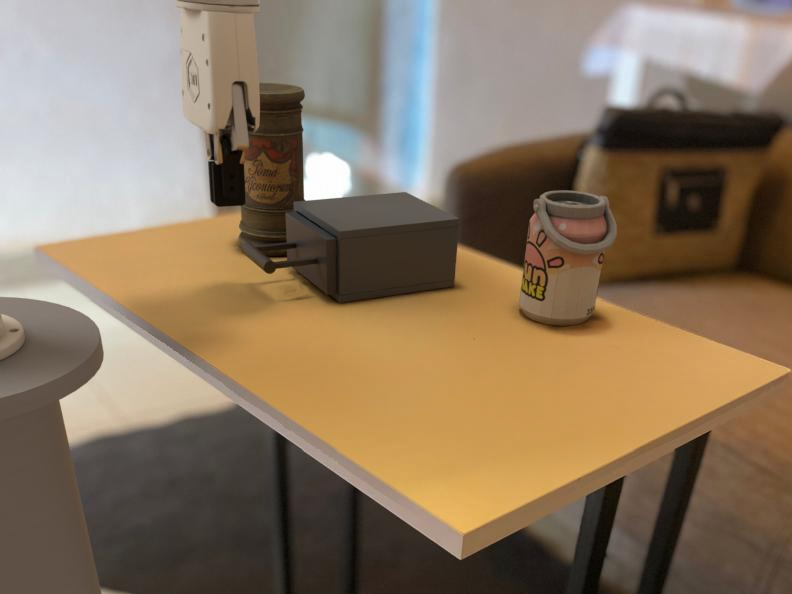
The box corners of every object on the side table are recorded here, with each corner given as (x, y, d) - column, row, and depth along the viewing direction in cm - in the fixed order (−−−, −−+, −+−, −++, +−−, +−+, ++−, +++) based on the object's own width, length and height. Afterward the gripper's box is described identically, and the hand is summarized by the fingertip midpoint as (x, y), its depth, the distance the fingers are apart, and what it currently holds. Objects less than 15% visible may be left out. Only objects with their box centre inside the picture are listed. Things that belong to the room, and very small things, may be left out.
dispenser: (339, 303, 91) (339, 231, 86) (295, 268, 100) (293, 201, 95) (454, 286, 97) (459, 218, 92) (403, 255, 106) (405, 191, 101)
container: (243, 234, 110) (232, 79, 99) (311, 237, 110) (308, 83, 100) (234, 255, 103) (222, 90, 92) (308, 258, 103) (304, 94, 93)
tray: (272, 302, 88) (270, 245, 84) (236, 269, 96) (232, 217, 92) (435, 279, 96) (438, 227, 92) (388, 251, 104) (390, 202, 100)
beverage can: (613, 328, 88) (636, 209, 81) (542, 335, 86) (559, 213, 79) (571, 298, 95) (589, 186, 88) (504, 303, 93) (517, 189, 86)
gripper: (153, -17, 79) (171, 189, 89) (201, -6, 69) (215, 225, 79) (230, -12, 82) (238, 186, 93) (287, -2, 72) (289, 220, 82)
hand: (228, 203), depth 86 cm, fingers closed
